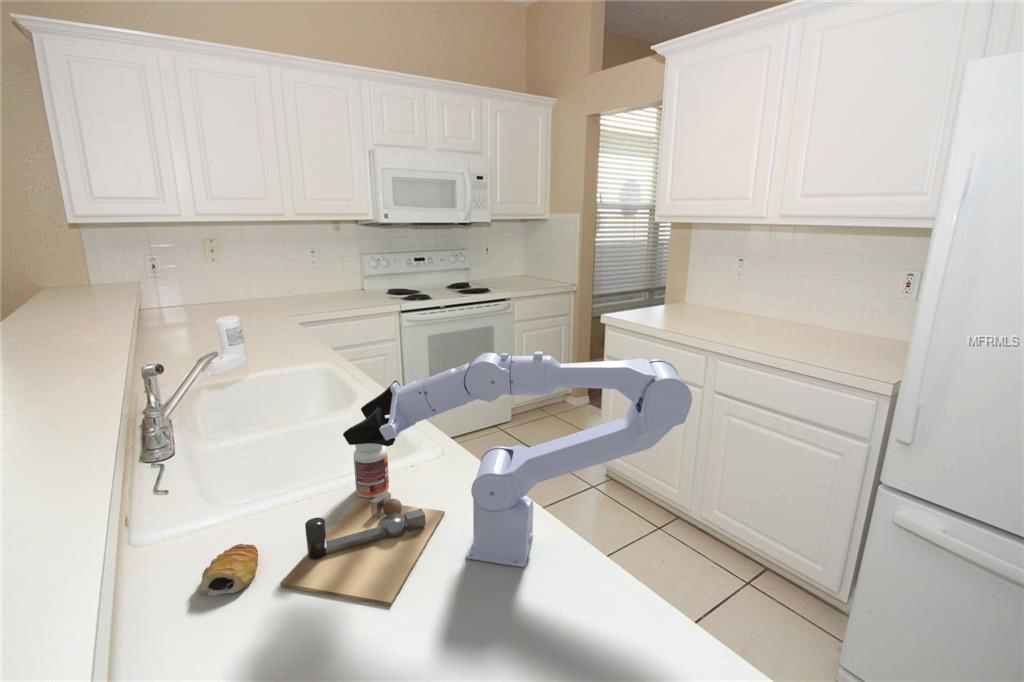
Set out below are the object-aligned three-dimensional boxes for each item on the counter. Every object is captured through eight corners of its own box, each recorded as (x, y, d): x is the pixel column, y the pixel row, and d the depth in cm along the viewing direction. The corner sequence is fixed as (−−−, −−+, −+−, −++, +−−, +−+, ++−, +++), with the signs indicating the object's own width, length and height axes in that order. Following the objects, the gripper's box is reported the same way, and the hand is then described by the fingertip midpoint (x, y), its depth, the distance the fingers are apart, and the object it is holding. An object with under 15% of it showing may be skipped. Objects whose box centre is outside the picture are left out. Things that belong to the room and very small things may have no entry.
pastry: (224, 555, 78) (221, 534, 77) (269, 552, 79) (267, 531, 78) (196, 600, 69) (192, 576, 68) (248, 596, 70) (245, 573, 69)
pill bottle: (393, 493, 96) (391, 438, 93) (361, 502, 92) (357, 446, 89) (382, 478, 101) (379, 426, 98) (351, 487, 97) (348, 434, 94)
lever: (420, 517, 87) (419, 489, 85) (427, 528, 84) (426, 500, 82) (306, 548, 78) (303, 519, 77) (309, 562, 75) (306, 532, 74)
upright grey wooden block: (385, 505, 90) (384, 491, 90) (391, 508, 90) (390, 493, 89) (371, 516, 87) (370, 501, 87) (377, 518, 87) (376, 503, 86)
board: (444, 514, 89) (444, 511, 89) (391, 606, 68) (391, 602, 68) (356, 501, 93) (356, 499, 92) (280, 586, 72) (280, 582, 72)
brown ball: (405, 512, 89) (404, 496, 88) (397, 522, 86) (397, 506, 85) (388, 509, 89) (387, 493, 88) (380, 520, 86) (379, 503, 85)
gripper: (431, 355, 81) (359, 383, 84) (408, 396, 67) (323, 428, 70) (450, 391, 83) (379, 418, 86) (432, 438, 70) (348, 468, 72)
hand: (355, 425), depth 78 cm, fingers open, 7 cm apart
